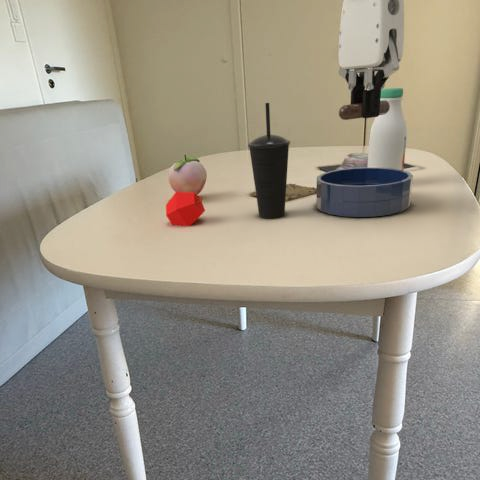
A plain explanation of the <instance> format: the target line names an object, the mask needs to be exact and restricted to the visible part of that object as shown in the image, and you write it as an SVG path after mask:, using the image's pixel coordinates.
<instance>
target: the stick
mask: <svg viewBox="0 0 480 480" xmlns="http://www.w3.org/2000/svg"><path fill="white" fill-rule="evenodd" d="M362 107H363V103H358V104H351V103H350V104H344V105H342V106H341V107H340V108H339V110H338V117H339V118H340V119H341V120H343V121H349V120H356V119H364V118H363V117H362V112H363V108H362ZM389 109H390V105H389V103H388V102H387V101H385V100H382V101H380V113H379V115H384V114H386V113H387V112H388V111H389Z"/></svg>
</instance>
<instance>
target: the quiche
mask: <svg viewBox="0 0 480 480" xmlns="http://www.w3.org/2000/svg"><path fill="white" fill-rule="evenodd" d="M367 167H368V153H366V152H359V153H355V152H351V153H349V154H347V155H345V157H344V159H343V161H342V163H341V164H335V165H334V164H333V165H324V166H317V168H318V169H320V170H322V171H325V173H326V172H329V171H335V170H341V169H350V168H367ZM411 168H416V166H415V165H412V164H408V163H406V162H404V170H407V169H411Z"/></svg>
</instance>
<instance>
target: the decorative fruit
mask: <svg viewBox="0 0 480 480" xmlns="http://www.w3.org/2000/svg"><path fill="white" fill-rule="evenodd" d="M207 177H208V174H207V169H206V168H205V166H204V165H203V164H202V163H201V161H200V160H199V159H198V158H197V157H188V158H187V155H186V154H184V159H183V160H179V161H177V162H174V163H173V164H172V165H171V167H170V168H169V170H168V173H167V179H168V184H169V185H170V187H171V189H172V190H173V192H175V193H176V192H188V193H195V194H196V195H198V196H199V194H201V192H202V191H203V189H204V187H205V184H206V182H207Z"/></svg>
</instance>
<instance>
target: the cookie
mask: <svg viewBox="0 0 480 480" xmlns="http://www.w3.org/2000/svg"><path fill="white" fill-rule="evenodd" d="M312 195H317V187H314V186H313V187H310V186H301V185H298V184H296V183H293V184H292V183H286V198H285V203H286V202H291V201H294V200H298V199H301V198H304V197H309V196H312ZM249 196H251V197H253V196H254V197H256V191H253V192H250V193H249Z"/></svg>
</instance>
